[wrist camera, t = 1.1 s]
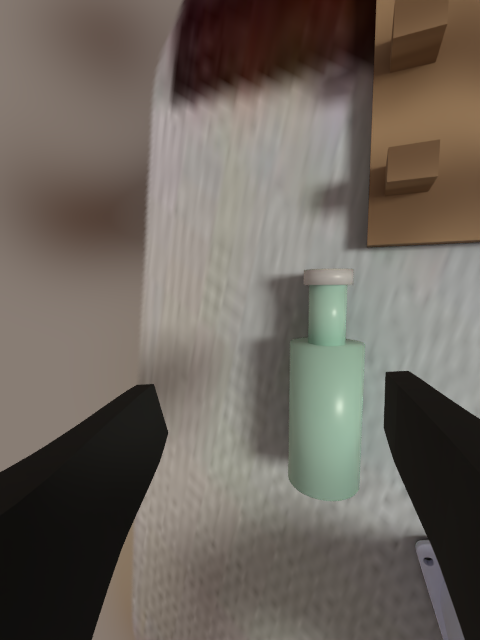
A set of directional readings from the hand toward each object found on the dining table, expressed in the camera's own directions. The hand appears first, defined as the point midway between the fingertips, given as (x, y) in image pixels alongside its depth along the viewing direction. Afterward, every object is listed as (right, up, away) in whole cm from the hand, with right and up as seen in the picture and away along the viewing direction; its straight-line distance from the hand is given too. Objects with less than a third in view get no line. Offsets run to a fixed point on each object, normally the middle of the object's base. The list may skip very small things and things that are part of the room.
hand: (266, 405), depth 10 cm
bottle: (+4, 0, +10) cm, 11 cm away
